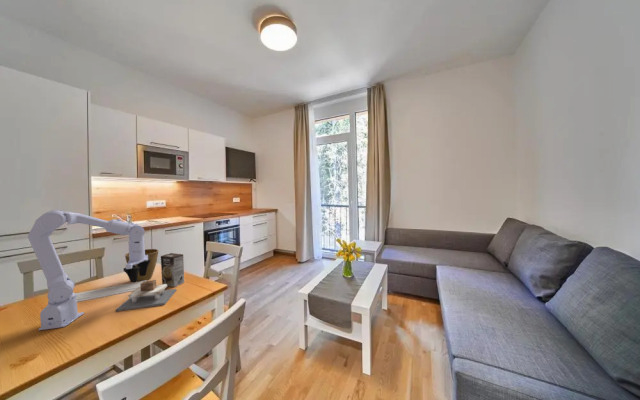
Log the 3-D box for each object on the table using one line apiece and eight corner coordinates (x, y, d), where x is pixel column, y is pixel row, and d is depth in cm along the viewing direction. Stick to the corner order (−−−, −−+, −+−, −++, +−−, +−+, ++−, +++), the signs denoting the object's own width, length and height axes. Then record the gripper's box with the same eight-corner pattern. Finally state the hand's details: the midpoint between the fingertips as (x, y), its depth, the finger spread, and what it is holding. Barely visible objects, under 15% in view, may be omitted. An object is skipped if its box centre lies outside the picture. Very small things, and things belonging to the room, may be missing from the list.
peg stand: (164, 304, 97) (164, 296, 97) (116, 311, 92) (115, 302, 92) (176, 290, 111) (176, 283, 110) (134, 295, 106) (134, 287, 106)
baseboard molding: (143, 291, 112) (146, 282, 122) (142, 285, 112) (146, 277, 122) (53, 309, 96) (66, 298, 106) (53, 303, 96) (66, 292, 106)
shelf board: (128, 297, 96) (127, 287, 96) (138, 289, 104) (137, 280, 103) (159, 293, 99) (159, 283, 99) (167, 286, 107) (166, 277, 107)
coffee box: (161, 285, 117) (159, 256, 116) (172, 280, 123) (171, 252, 122) (174, 287, 115) (172, 257, 114) (185, 282, 121) (183, 253, 120)
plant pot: (147, 284, 119) (146, 255, 118) (119, 285, 118) (117, 256, 117) (165, 273, 134) (164, 248, 133) (140, 274, 133) (138, 248, 132)
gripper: (138, 254, 96) (139, 284, 96) (154, 245, 110) (155, 272, 110) (119, 255, 94) (121, 286, 95) (138, 246, 108) (139, 273, 109)
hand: (138, 278), depth 102 cm, fingers open, 7 cm apart
